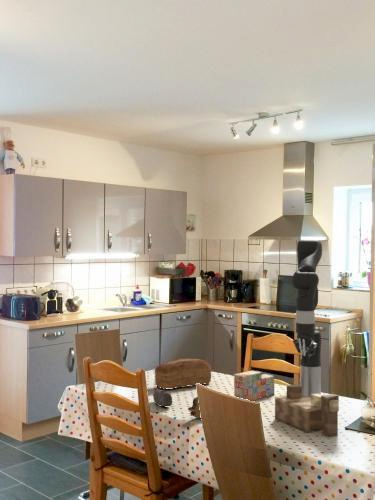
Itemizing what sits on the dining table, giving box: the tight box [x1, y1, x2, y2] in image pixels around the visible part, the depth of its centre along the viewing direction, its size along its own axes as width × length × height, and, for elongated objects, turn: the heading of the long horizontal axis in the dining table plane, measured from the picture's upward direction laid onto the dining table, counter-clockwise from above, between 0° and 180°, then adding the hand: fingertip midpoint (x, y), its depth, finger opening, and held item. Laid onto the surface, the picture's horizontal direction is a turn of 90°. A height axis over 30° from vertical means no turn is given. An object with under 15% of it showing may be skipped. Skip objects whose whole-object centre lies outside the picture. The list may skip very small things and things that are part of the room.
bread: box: [154, 358, 212, 390], centre depth 289 cm, size 12×31×14 cm, turn 121°
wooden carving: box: [187, 396, 200, 419], centre depth 234 cm, size 16×5×10 cm, turn 141°
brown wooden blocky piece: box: [274, 393, 340, 438], centre depth 222 cm, size 28×12×15 cm, turn 29°
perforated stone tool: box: [152, 389, 173, 408], centre depth 253 cm, size 15×5×7 cm, turn 25°
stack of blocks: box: [233, 370, 275, 401], centre depth 266 cm, size 21×6×12 cm, turn 129°
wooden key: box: [311, 393, 340, 412], centre depth 214 cm, size 12×3×4 cm, turn 29°
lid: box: [274, 383, 321, 412], centre depth 226 cm, size 20×12×6 cm, turn 28°
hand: (305, 364), depth 224 cm, fingers closed
